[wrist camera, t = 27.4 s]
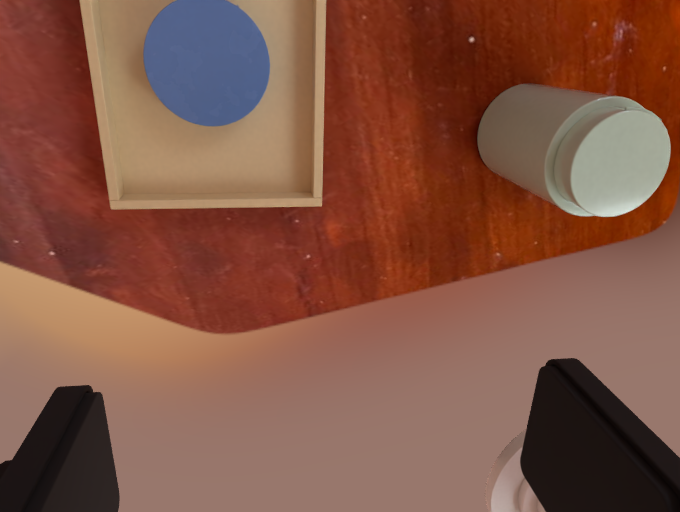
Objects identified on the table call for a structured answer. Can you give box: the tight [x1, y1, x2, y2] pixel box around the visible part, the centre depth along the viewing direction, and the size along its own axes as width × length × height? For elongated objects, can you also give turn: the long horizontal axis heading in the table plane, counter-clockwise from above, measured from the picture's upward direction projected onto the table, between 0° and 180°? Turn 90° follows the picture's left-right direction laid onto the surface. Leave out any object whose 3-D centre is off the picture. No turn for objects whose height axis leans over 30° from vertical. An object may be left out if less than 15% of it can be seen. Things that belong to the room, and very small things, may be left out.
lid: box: [143, 0, 270, 126], centre depth 29 cm, size 7×7×2 cm
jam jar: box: [477, 83, 670, 217], centre depth 31 cm, size 7×7×11 cm
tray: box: [79, 0, 326, 210], centre depth 30 cm, size 17×13×2 cm
